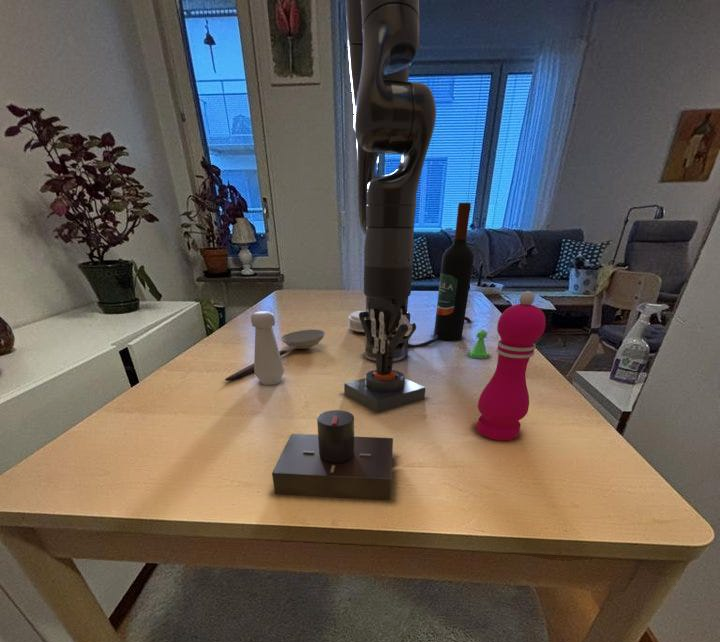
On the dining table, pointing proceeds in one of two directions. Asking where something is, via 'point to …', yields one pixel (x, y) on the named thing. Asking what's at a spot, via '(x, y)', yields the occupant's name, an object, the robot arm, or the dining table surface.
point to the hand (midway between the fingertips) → (383, 372)
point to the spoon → (294, 341)
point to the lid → (355, 322)
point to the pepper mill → (511, 371)
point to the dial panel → (335, 469)
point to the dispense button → (385, 376)
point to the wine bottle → (454, 282)
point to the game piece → (479, 346)
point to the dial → (336, 436)
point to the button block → (384, 392)
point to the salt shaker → (266, 349)
